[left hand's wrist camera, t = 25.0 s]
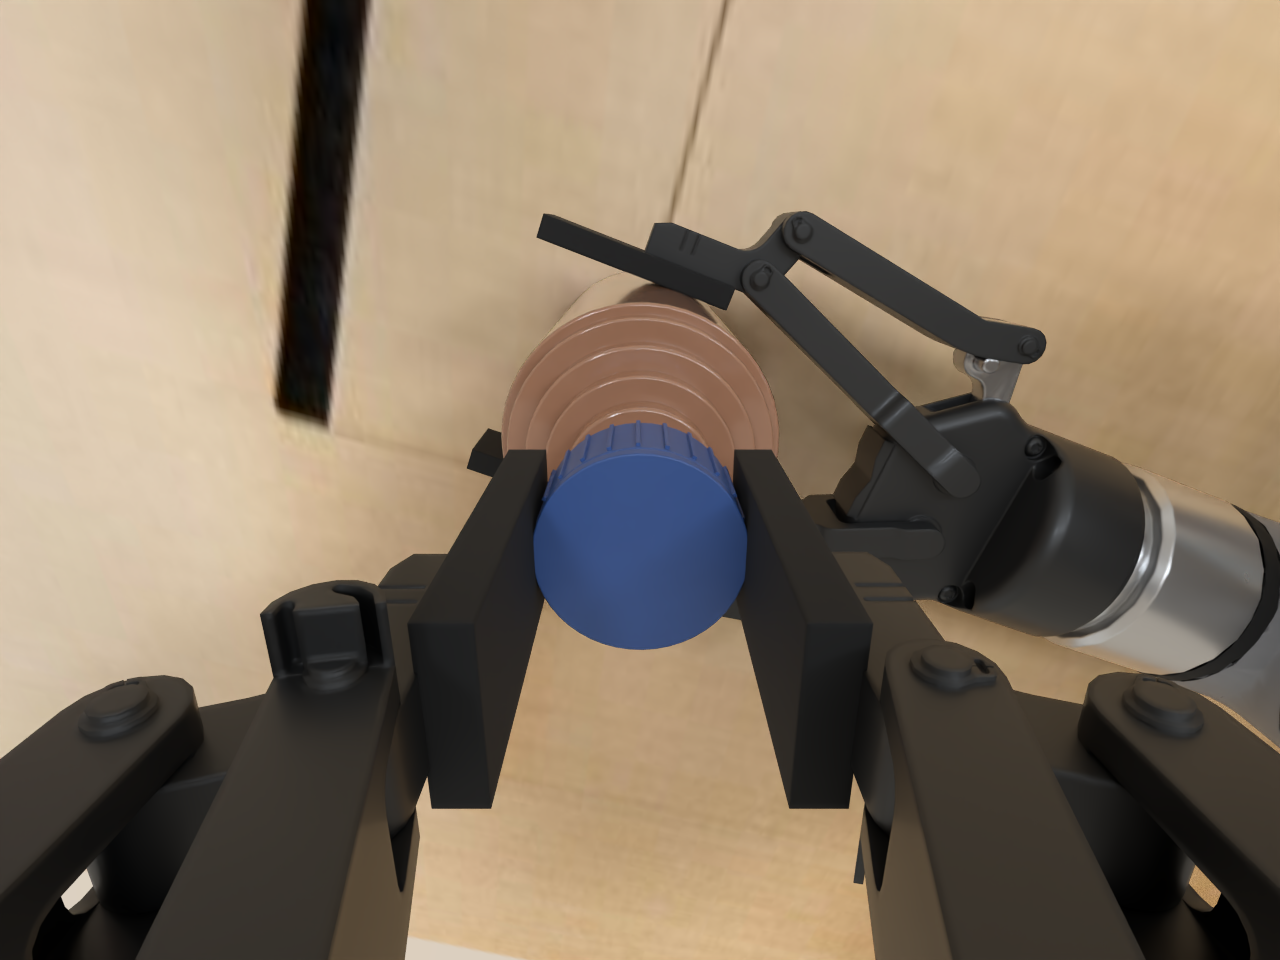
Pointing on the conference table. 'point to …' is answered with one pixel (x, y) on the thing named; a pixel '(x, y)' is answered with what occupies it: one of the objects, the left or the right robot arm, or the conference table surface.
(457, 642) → the left robot arm
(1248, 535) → the right robot arm
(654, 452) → the cap
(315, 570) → the conference table surface
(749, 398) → the bottle
